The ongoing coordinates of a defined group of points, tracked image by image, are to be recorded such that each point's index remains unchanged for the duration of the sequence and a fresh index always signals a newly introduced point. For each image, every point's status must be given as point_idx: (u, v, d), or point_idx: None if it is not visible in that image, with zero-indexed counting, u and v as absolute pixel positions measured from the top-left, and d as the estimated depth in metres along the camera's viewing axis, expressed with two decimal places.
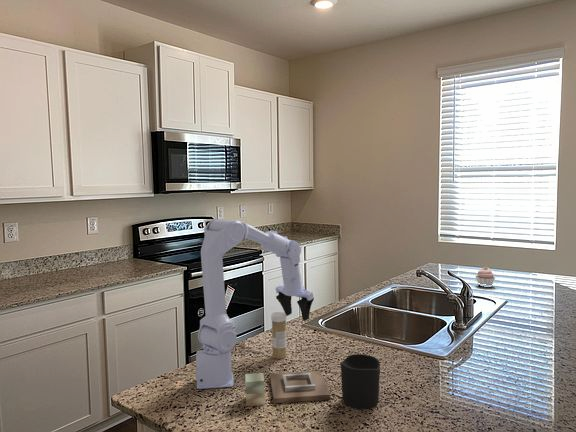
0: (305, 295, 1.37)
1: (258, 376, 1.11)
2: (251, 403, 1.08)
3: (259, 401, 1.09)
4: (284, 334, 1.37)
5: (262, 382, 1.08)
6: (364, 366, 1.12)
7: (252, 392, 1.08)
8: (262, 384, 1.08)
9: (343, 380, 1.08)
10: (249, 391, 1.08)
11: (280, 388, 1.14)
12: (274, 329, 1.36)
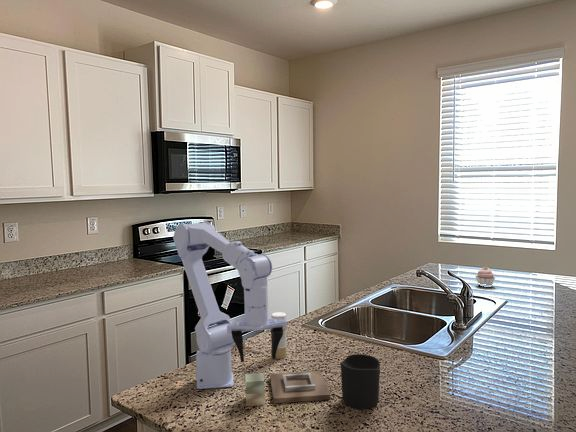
0: None
1: (258, 376, 1.11)
2: (251, 403, 1.08)
3: (259, 401, 1.09)
4: (284, 334, 1.37)
5: (262, 382, 1.08)
6: (364, 366, 1.12)
7: (252, 392, 1.08)
8: (262, 384, 1.08)
9: (343, 380, 1.08)
10: (249, 391, 1.08)
11: (280, 388, 1.14)
12: None
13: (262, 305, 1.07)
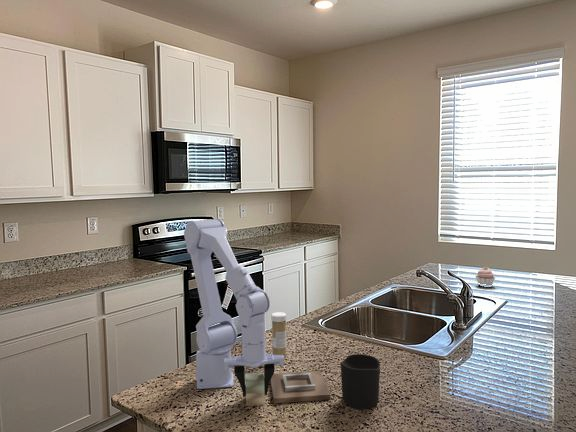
0: None
1: (258, 376, 1.11)
2: (251, 402, 1.08)
3: (259, 401, 1.09)
4: (284, 334, 1.37)
5: (262, 382, 1.08)
6: (364, 366, 1.12)
7: (252, 392, 1.08)
8: (262, 384, 1.08)
9: (343, 380, 1.08)
10: (249, 391, 1.08)
11: (280, 388, 1.14)
12: (274, 329, 1.36)
13: (259, 342, 1.07)
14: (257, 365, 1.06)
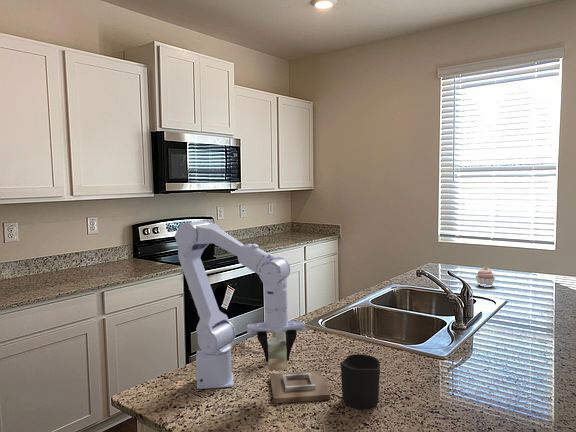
0: None
1: (280, 342, 1.13)
2: (274, 367, 1.11)
3: (281, 366, 1.11)
4: (284, 334, 1.37)
5: (284, 347, 1.11)
6: (364, 366, 1.12)
7: (275, 357, 1.11)
8: (284, 349, 1.11)
9: (343, 380, 1.08)
10: (272, 356, 1.11)
11: (280, 388, 1.14)
12: None
13: (284, 307, 1.10)
14: (280, 330, 1.09)
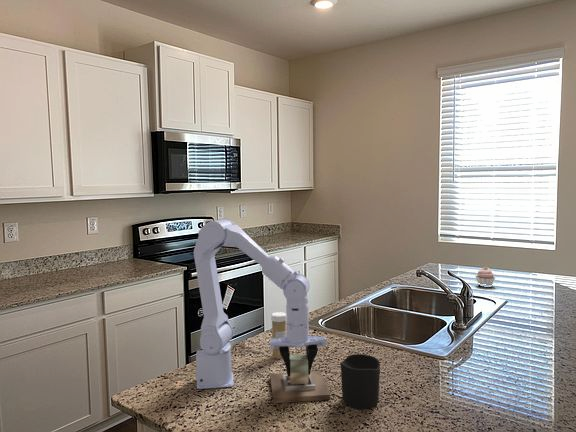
0: None
1: (301, 356, 1.17)
2: (296, 381, 1.14)
3: (303, 380, 1.15)
4: (284, 334, 1.37)
5: (306, 362, 1.14)
6: (364, 366, 1.12)
7: (297, 371, 1.14)
8: (306, 364, 1.14)
9: (343, 380, 1.08)
10: (294, 371, 1.14)
11: (280, 388, 1.14)
12: (274, 329, 1.36)
13: (307, 322, 1.14)
14: (302, 345, 1.12)
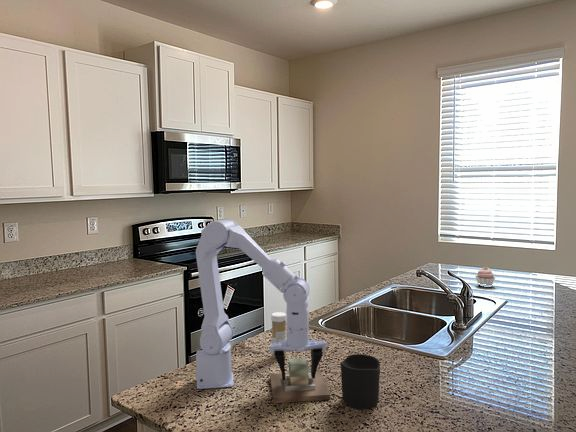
0: None
1: (301, 360, 1.17)
2: (296, 385, 1.14)
3: (303, 384, 1.15)
4: (284, 334, 1.37)
5: (306, 366, 1.14)
6: (364, 366, 1.12)
7: (297, 375, 1.14)
8: (306, 368, 1.14)
9: (343, 380, 1.08)
10: (294, 375, 1.14)
11: (280, 388, 1.14)
12: (274, 329, 1.36)
13: (307, 326, 1.15)
14: (302, 349, 1.12)
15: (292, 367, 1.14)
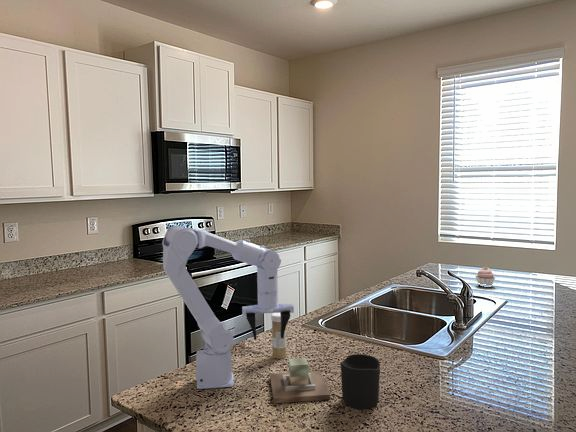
0: None
1: (301, 360, 1.17)
2: (296, 385, 1.14)
3: (303, 384, 1.15)
4: (284, 334, 1.37)
5: (306, 366, 1.14)
6: (364, 366, 1.12)
7: (297, 375, 1.14)
8: (306, 368, 1.14)
9: (343, 380, 1.08)
10: (294, 375, 1.14)
11: (280, 388, 1.14)
12: (274, 329, 1.36)
13: None
14: (271, 311, 1.24)
15: (292, 367, 1.14)
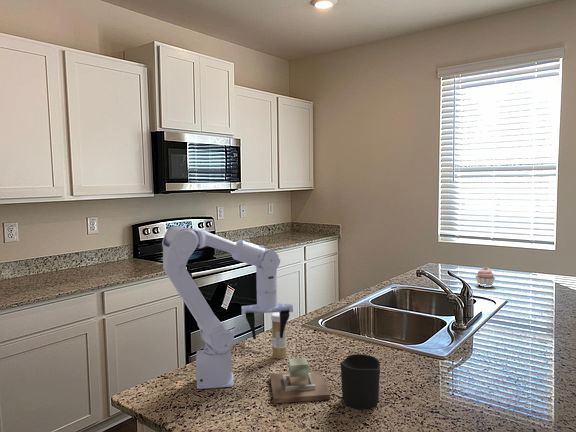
0: None
1: (301, 360, 1.17)
2: (296, 385, 1.14)
3: (303, 384, 1.15)
4: (284, 334, 1.37)
5: (306, 366, 1.14)
6: (364, 366, 1.12)
7: (297, 375, 1.14)
8: (306, 368, 1.14)
9: (343, 380, 1.08)
10: (294, 375, 1.14)
11: (280, 388, 1.14)
12: (274, 329, 1.36)
13: None
14: (270, 310, 1.24)
15: (292, 367, 1.14)
